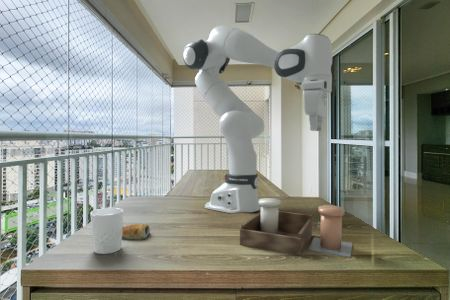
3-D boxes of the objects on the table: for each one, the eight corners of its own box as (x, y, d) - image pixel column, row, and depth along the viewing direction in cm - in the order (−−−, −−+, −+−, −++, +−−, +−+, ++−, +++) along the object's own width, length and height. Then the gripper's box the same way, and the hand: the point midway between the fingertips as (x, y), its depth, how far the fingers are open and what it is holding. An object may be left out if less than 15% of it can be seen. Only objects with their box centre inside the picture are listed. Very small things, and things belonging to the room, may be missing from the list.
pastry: (112, 240, 84) (112, 226, 84) (121, 232, 91) (121, 220, 91) (144, 240, 84) (144, 227, 84) (151, 233, 90) (151, 220, 90)
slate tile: (307, 252, 75) (307, 249, 75) (314, 240, 84) (314, 237, 84) (350, 259, 71) (350, 256, 71) (352, 245, 80) (352, 243, 80)
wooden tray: (239, 246, 79) (240, 222, 79) (259, 229, 93) (259, 208, 93) (300, 257, 72) (300, 230, 72) (311, 237, 86) (312, 215, 86)
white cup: (97, 244, 80) (96, 207, 80) (126, 243, 81) (126, 207, 81) (86, 255, 73) (85, 215, 72) (119, 254, 73) (118, 214, 73)
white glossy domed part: (255, 235, 86) (255, 201, 85) (262, 229, 92) (262, 197, 91) (276, 239, 83) (277, 203, 83) (282, 232, 89) (283, 199, 88)
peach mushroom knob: (315, 248, 76) (316, 209, 76) (320, 239, 82) (320, 204, 81) (342, 252, 73) (343, 212, 73) (344, 243, 79) (345, 206, 78)
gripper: (312, 92, 104) (311, 131, 105) (300, 82, 86) (299, 130, 87) (331, 90, 102) (330, 131, 102) (322, 81, 83) (321, 130, 84)
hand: (316, 131), depth 94 cm, fingers open, 8 cm apart
